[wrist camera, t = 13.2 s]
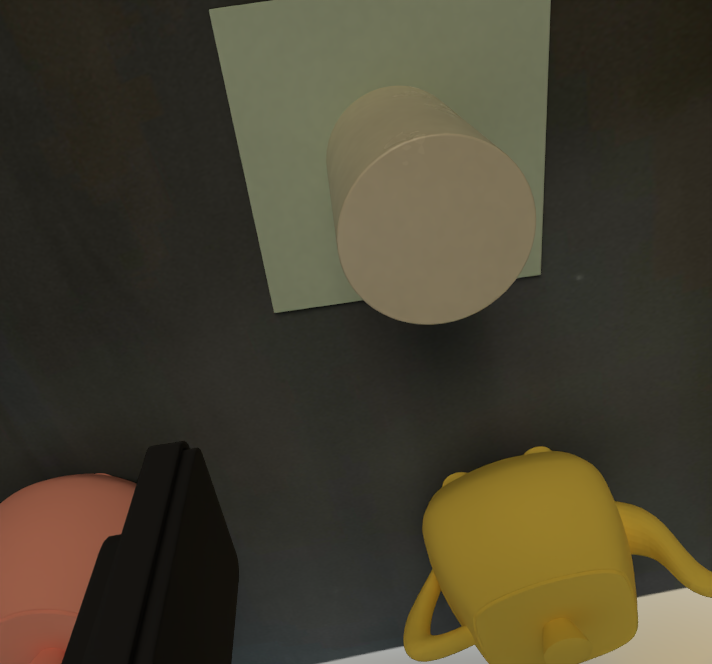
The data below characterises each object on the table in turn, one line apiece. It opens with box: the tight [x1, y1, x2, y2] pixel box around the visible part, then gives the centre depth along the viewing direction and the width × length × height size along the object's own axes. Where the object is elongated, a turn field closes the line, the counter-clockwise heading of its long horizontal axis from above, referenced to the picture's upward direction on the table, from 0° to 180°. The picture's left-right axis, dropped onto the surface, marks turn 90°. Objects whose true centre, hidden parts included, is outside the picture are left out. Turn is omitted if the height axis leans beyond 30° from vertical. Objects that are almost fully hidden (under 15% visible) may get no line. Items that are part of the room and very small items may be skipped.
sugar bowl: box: [0, 473, 136, 664], centre depth 34 cm, size 12×14×10 cm
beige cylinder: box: [326, 85, 536, 325], centre depth 23 cm, size 6×6×10 cm
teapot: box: [403, 446, 712, 664], centre depth 35 cm, size 18×11×11 cm, turn 110°
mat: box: [209, 0, 551, 313], centre depth 28 cm, size 14×14×1 cm
